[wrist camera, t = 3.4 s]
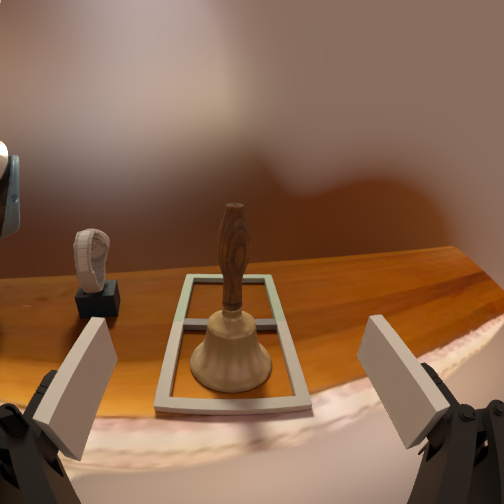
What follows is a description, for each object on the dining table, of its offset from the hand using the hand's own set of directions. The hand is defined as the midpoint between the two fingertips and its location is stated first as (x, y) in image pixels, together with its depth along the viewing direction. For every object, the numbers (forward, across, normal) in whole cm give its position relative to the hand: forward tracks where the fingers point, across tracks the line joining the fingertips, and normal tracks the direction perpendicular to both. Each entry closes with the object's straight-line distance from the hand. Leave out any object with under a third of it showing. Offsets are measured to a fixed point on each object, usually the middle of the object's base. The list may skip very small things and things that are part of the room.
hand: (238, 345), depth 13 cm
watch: (+20, -18, -11) cm, 29 cm away
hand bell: (+10, 0, -12) cm, 16 cm away
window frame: (+17, 0, -11) cm, 20 cm away
